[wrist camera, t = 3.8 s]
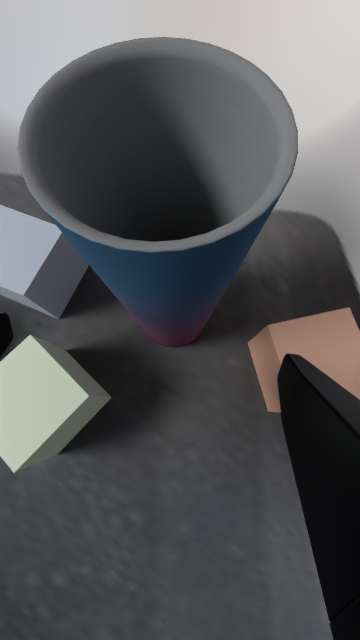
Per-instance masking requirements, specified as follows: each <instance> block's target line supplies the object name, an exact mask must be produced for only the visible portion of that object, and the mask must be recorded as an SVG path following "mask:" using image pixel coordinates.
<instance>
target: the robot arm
mask: <svg viewBox="0 0 360 640" xmlns="http://www.w3.org/2000/svg"><path fill="white" fill-rule="evenodd" d="M12 339H13V332H12V328H11V323H10V319H9V316H8V314H6V313H5V312H0V358H1V356H2V355H3V353H4V352H5V350H6V349H7V347H8V346H9V344H10V343H11V341H12ZM277 383H278V392H279V401H280V409H281V418H282V425H283V429H284V434H285V438H286V442H287V446H288V451H289V455H290V459H291V463H292V467H293V471H294V476H295V480H296V484H297V488H298V492H299V496H300V501H301V505H302V509H303V513H304V517H305V522H306V526H307V530H308V534H309V538H310V542H311V547H312V551H313V555H314V559H315V563H316V567H317V572H318V576H319V580H320V584H321V588H322V592H323V597H324V601H325V605H326V609H327V613H328V618H329V620H330V621H331V622H330V627H331V631H332V635H333V639H334V640H360V400H359V399H358V398H357V397H355V396H354V395H353V394H351V393H350V392H349V391H347V390H346V389H345V388H343V387H342V386H341V385H339V384H338V383H337V382H335V381H334V380H333V379H331V378H330V377H329V376H327V375H326V374H325V373H323V372H322V371H321V370H319V369H318V368H317V367H315V366H314V365H313V364H311V363H310V362H309V361H307V360H306V359H305V358H303V357H302V356H301V355H297V354H290V353H287V354H286V355H285V356H284V358H283V361H282V364H281V367H280V369H279V372H278V376H277Z"/></svg>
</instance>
